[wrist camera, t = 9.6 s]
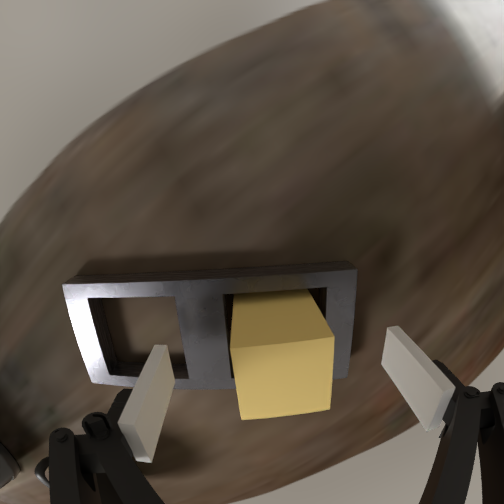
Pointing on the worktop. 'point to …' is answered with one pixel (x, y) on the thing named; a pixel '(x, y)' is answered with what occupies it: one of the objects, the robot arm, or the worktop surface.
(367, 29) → the worktop surface
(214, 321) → the frame with square openings
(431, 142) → the worktop surface
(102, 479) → the mug
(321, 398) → the yellow block
